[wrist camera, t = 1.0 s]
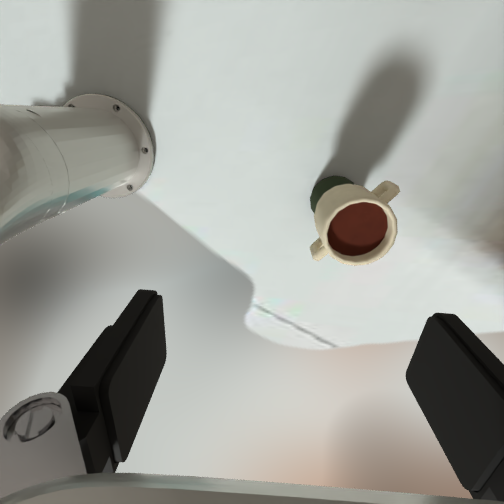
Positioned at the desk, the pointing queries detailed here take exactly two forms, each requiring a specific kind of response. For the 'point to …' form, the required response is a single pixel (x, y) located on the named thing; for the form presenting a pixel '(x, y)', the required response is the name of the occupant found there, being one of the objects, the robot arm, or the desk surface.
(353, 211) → the character mug
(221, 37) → the desk surface
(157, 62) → the desk surface
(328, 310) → the desk surface
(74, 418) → the robot arm
